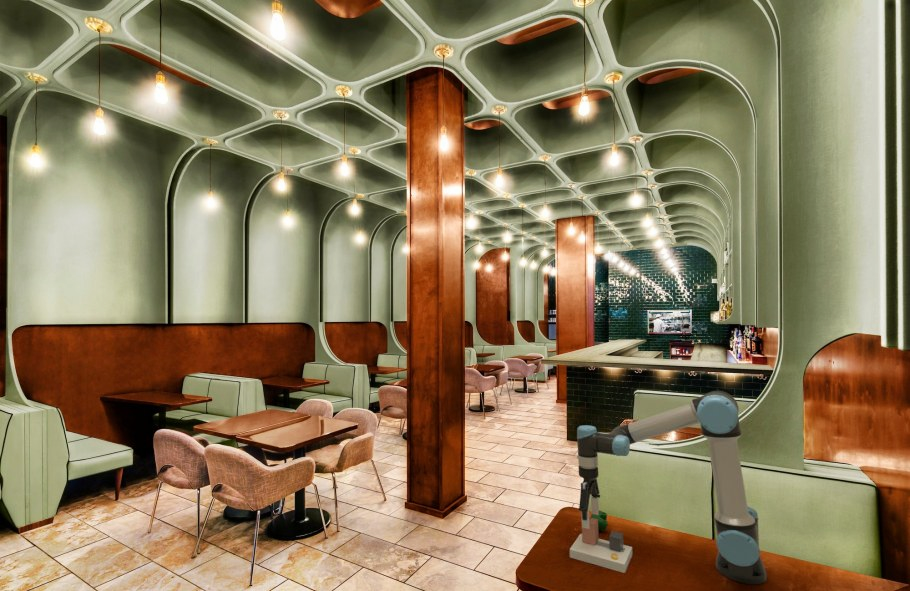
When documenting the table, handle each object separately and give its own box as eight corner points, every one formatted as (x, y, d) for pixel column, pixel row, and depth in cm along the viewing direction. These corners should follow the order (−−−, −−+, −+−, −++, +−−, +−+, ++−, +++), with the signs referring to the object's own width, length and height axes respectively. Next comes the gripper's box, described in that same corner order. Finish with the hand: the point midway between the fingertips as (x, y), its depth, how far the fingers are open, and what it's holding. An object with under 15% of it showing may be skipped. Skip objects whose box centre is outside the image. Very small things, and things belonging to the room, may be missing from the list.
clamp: (602, 542, 187) (607, 527, 184) (588, 537, 189) (593, 522, 185) (604, 520, 198) (609, 505, 194) (590, 515, 199) (595, 501, 196)
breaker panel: (632, 555, 169) (632, 544, 170) (624, 573, 158) (624, 561, 158) (580, 541, 180) (580, 531, 180) (569, 557, 168) (569, 546, 168)
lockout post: (598, 540, 175) (598, 519, 175) (595, 545, 171) (594, 524, 171) (585, 536, 177) (585, 516, 178) (582, 542, 173) (581, 521, 174)
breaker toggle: (623, 545, 170) (622, 533, 170) (620, 551, 166) (620, 539, 166) (612, 543, 172) (612, 530, 172) (609, 548, 168) (609, 536, 168)
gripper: (587, 456, 188) (589, 507, 187) (569, 474, 167) (571, 531, 166) (605, 458, 184) (608, 510, 183) (588, 477, 163) (591, 536, 162)
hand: (590, 520), depth 174 cm, fingers open, 13 cm apart
